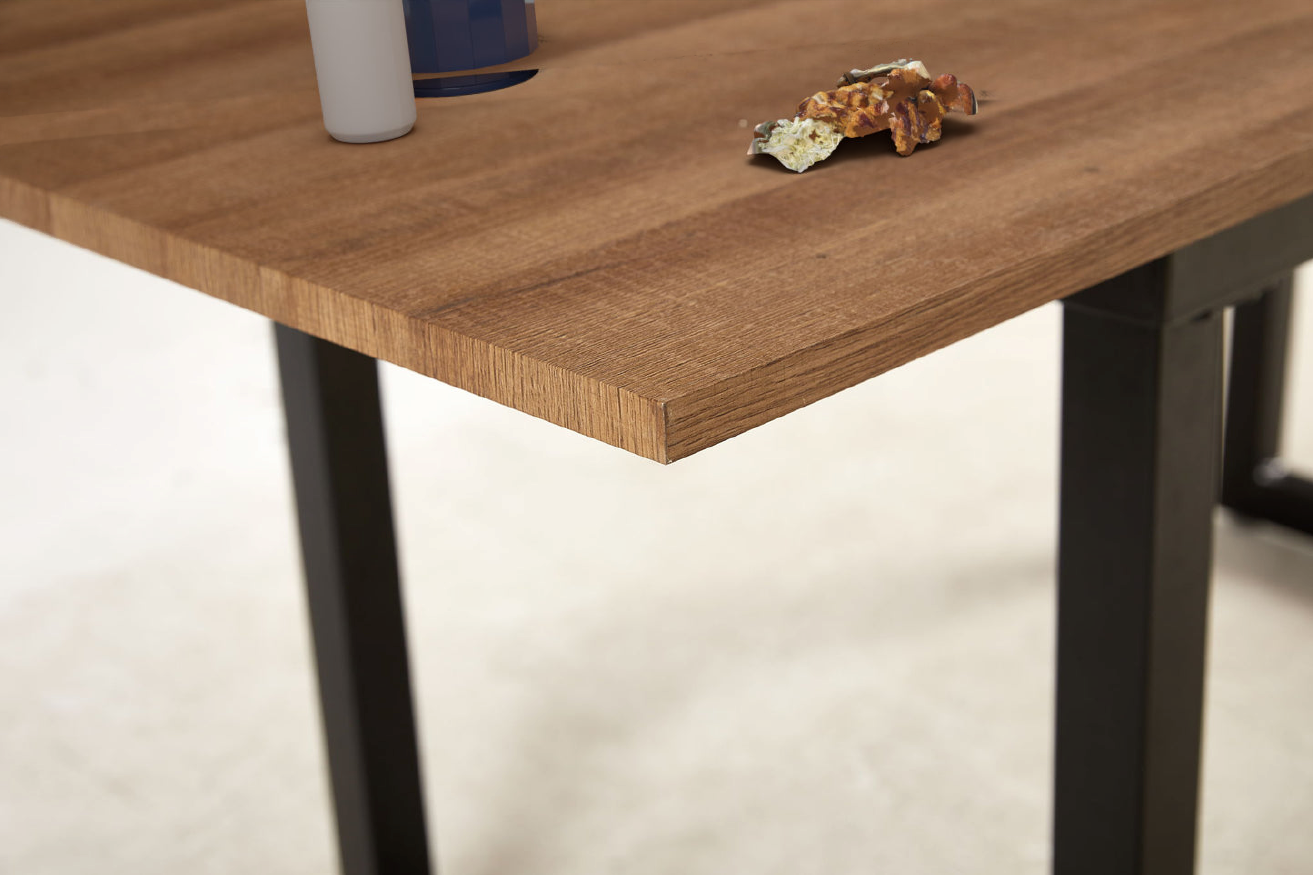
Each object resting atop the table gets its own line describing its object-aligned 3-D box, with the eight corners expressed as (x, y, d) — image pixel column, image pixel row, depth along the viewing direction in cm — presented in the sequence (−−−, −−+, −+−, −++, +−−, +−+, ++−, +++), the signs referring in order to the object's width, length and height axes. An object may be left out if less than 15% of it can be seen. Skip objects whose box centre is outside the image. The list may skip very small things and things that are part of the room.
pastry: (721, 157, 74) (718, 82, 73) (883, 104, 81) (884, 34, 80) (833, 183, 69) (832, 104, 68) (995, 124, 77) (998, 51, 75)
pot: (512, 97, 87) (496, -60, 83) (337, 98, 89) (315, -55, 85) (558, 55, 96) (546, -89, 93) (399, 57, 98) (381, -84, 95)
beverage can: (317, 129, 83) (280, -106, 78) (405, 115, 85) (374, -116, 79) (337, 150, 79) (300, -97, 74) (429, 135, 81) (398, -108, 75)
